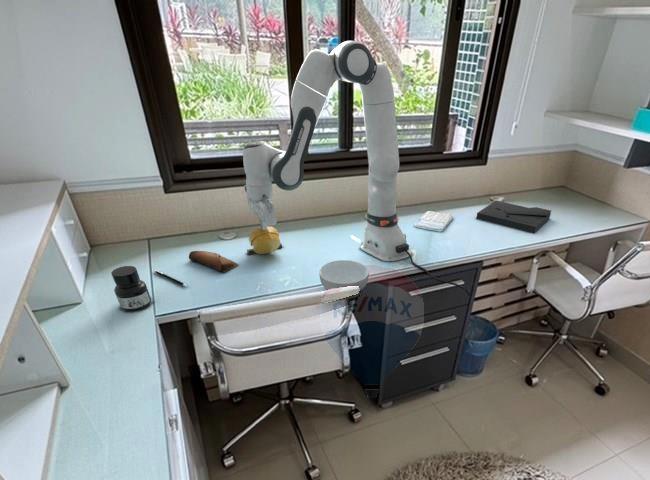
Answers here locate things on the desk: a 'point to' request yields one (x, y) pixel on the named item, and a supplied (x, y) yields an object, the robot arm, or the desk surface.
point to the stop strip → (251, 251)
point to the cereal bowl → (344, 274)
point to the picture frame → (514, 216)
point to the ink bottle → (130, 289)
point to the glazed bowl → (264, 240)
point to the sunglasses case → (212, 260)
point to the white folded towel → (434, 221)
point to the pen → (170, 278)
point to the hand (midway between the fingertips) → (264, 228)
